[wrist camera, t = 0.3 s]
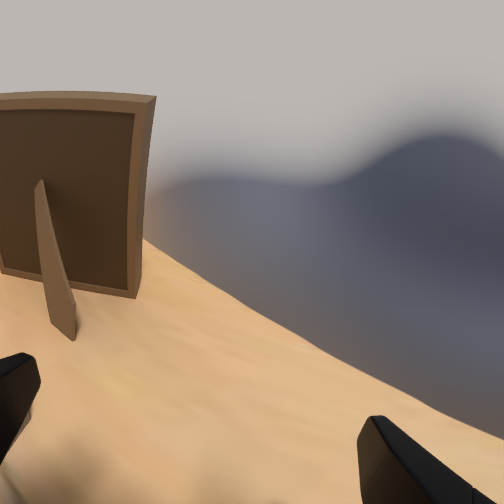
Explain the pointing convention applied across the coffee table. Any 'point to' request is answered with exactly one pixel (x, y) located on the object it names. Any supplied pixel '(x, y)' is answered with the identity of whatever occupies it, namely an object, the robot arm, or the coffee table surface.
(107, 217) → the photo frame
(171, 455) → the coffee table surface
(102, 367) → the coffee table surface
